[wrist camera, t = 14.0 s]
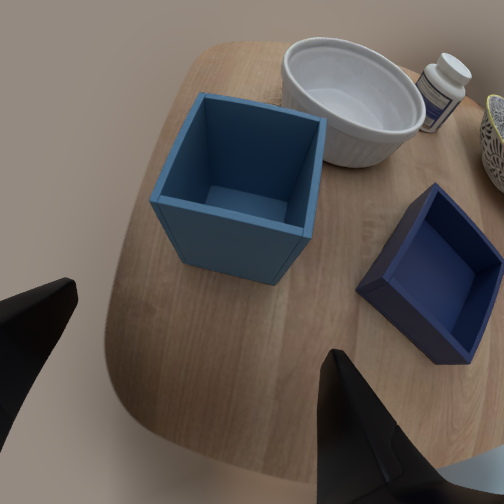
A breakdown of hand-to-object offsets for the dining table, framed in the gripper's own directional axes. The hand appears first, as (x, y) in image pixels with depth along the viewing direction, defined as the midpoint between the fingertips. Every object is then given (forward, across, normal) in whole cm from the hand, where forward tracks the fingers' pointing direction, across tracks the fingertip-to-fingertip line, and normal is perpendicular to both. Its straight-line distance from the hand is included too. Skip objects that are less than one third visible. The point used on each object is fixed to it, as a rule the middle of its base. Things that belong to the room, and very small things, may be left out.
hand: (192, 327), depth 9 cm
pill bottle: (+28, -17, -12) cm, 35 cm away
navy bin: (+14, -17, +3) cm, 22 cm away
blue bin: (+14, 0, +2) cm, 14 cm away
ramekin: (+24, -7, -7) cm, 25 cm away
